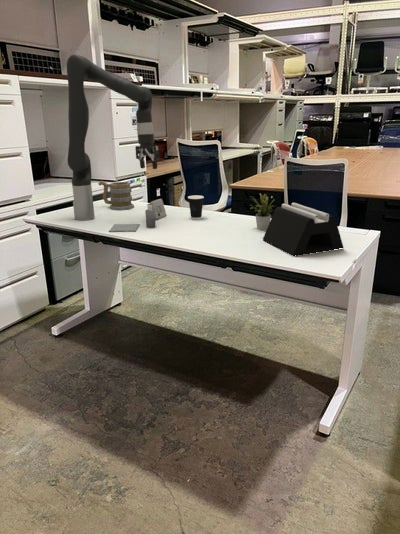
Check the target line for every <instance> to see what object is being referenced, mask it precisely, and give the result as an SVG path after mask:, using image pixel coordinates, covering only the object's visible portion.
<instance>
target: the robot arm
mask: <svg viewBox="0 0 400 534" xmlns="http://www.w3.org/2000/svg"><path fill="white" fill-rule="evenodd" d="M66 75H67V84H68V111H67V112H68V114H67V115H68V150H67V151H68V152H67V158H66V159H67V166H68V167H69V169H70V170H71V171H72V178H71V186H72V187H71V188H72V195H73V201H72V205H73V215H74V220H77V221H89V220H93V219H95V217H96V216H95V208H94V199H93V189H92V167H91V166H92V165H91V159H90V156H89V155H88V153H86V151H85V142H86V137H87V133H88V130H89V129H88V128H89V122H90V119H89V118H90V117H89V116H90V110H89V109H90V108H89V104H88V101H87V97H86V94H85V88H84V87H85V85H84V82H85V80H89V81H94V82H96V83H99V84H101V85H103V86H104V87H106V88H107V89H110V90H111V91H113V92H115V93H117V94H119V95H121V96H124V97H125V98H128V99H129V100H131V101H133V102H135V103H137V110H136V112H135V117H136V132H137V133H136V135H137V142H138V145H135V158H136V159H137V160H138V161H139V167H140V168H141V169H145V168H146V166H145V164H146V162H145V158H146V157H149V158H150V159H151V164H152V170H157V169H158V160H161V155H160V147H159V145H154V144H155V133H154V126H153V120H152V118H153V117H152V107H153V96H152V91H151V90H150V88H149V87H147V86H143V85H142V86H141V85H139V84H135V83H133V82H132V81H131V80H129V79H128V78H125V77H123V76H120V75H118V74H117V73H113V72H111V71H109V70H107V69H104V68H102V67H100V66H98V65H97V64H95V63H94V62H93V61H91V60H90V59H88V58H87V57H85V56H83V55H80V54H71V55H70V56H69V57H68V59H67V61H66Z"/></svg>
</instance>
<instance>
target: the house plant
mask: <svg viewBox="0 0 400 534" xmlns="http://www.w3.org/2000/svg"><path fill="white" fill-rule="evenodd" d="M267 195H268V193H264V194H263V195H262V194H261V193H259V197H260V198H259V199H260V203H261V204H260V203H259V201H258V200H257V199H256V198H255V197H254V196H251V195H250V198H251V197H252V198H251V200H252V201H253V202H254V203H256V206H255V207H254V206H253V205H251V204H249V206H252V207H250V210H251V209H254V212H258V213H256V214H255V221H256V222H255V223H256V229H257V230H259V231H260V230H261V231H266V230H267V228H268V225H269V223H270V221H271V218H272V215H271V214H270V213H271V212H274V211H275V209H272V207H273V205H272V204H273V203H274V200H272V201H271V202H270V203H269V205H268V202H269V196H267ZM257 207H258V208H257Z"/></svg>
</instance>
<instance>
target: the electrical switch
mask: <svg viewBox="0 0 400 534" xmlns="http://www.w3.org/2000/svg"><path fill="white" fill-rule="evenodd" d="M147 205H152V209H153V210H155V221H157V220H159V219H162V218H165V217H167V212H166V208H165V204H164V201H163V199H162V198H159V199H155V200H151V201H150V203H147ZM147 205H146V206H147Z"/></svg>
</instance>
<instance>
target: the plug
mask: <svg viewBox="0 0 400 534" xmlns="http://www.w3.org/2000/svg"><path fill="white" fill-rule="evenodd" d="M146 206H147V209H145V210H144V211H145V226H146V229H155V228H156V226H157V225H156V219H155V210H153V209H152V205H146Z"/></svg>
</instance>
